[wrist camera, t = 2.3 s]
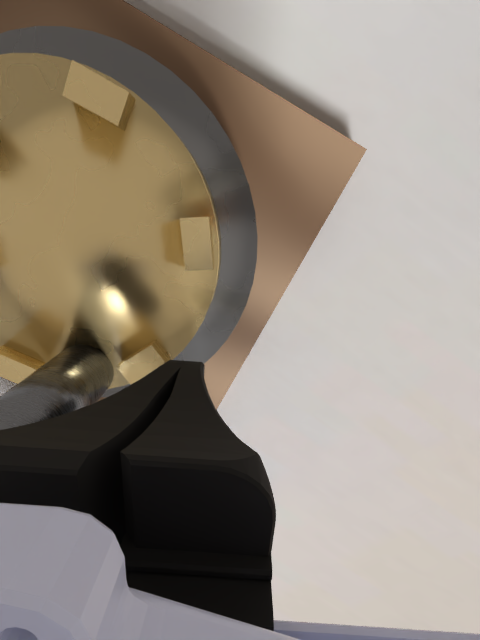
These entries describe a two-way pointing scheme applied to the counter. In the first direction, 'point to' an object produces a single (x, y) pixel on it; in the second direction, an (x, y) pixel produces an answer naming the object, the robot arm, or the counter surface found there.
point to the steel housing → (200, 139)
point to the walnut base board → (250, 145)
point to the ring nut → (93, 238)
